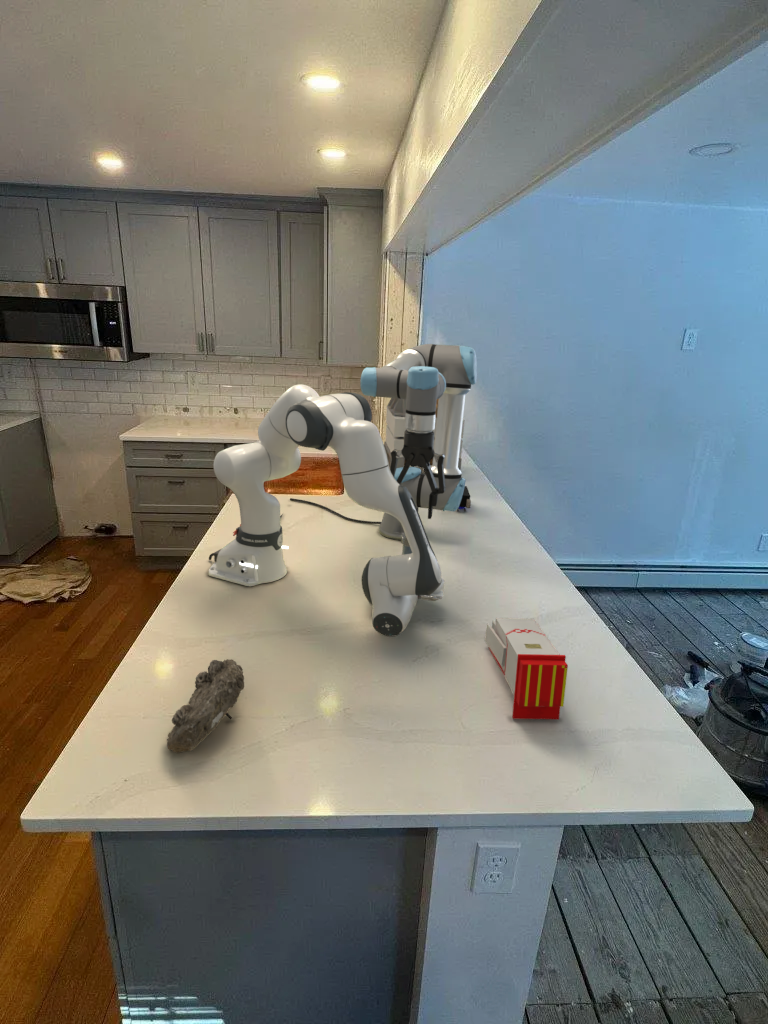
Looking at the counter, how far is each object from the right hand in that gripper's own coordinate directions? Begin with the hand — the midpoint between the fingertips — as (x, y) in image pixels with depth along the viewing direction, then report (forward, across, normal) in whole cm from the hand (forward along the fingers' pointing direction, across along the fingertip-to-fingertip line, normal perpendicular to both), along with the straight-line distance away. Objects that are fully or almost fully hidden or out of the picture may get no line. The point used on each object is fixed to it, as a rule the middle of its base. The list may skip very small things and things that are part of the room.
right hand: (414, 515), depth 150 cm
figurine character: (+24, -5, -79) cm, 82 cm away
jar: (+24, 0, 0) cm, 24 cm away
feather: (+24, +57, -43) cm, 75 cm away
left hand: (+17, 0, -1) cm, 17 cm away
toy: (+24, -31, +30) cm, 49 cm away
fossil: (+24, +26, +60) cm, 70 cm away
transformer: (+24, +20, -123) cm, 127 cm away
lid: (+6, 0, 0) cm, 6 cm away
